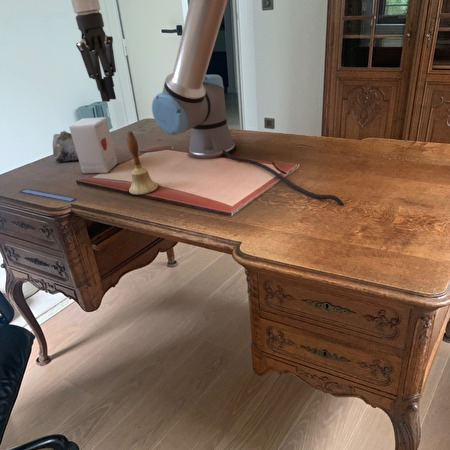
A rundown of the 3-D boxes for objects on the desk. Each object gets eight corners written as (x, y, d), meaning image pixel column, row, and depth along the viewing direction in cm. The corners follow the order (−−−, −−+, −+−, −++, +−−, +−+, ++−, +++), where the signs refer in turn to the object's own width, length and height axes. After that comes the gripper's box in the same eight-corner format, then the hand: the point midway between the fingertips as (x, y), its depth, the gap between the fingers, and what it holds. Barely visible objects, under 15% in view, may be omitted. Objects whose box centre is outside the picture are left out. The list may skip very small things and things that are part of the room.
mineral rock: (98, 158, 154) (90, 128, 148) (71, 168, 148) (62, 137, 142) (78, 153, 161) (70, 124, 156) (52, 162, 155) (42, 133, 150)
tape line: (74, 199, 125) (74, 198, 125) (70, 201, 124) (70, 200, 124) (25, 190, 135) (25, 189, 135) (21, 192, 134) (21, 191, 134)
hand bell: (130, 197, 121) (116, 138, 112) (127, 186, 128) (113, 130, 119) (160, 191, 123) (148, 132, 113) (155, 181, 129) (144, 125, 120)
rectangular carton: (107, 173, 140) (94, 124, 131) (82, 174, 142) (67, 126, 133) (118, 163, 147) (106, 116, 138) (94, 164, 149) (81, 118, 140)
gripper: (97, 11, 133) (116, 94, 147) (59, 17, 124) (83, 106, 137) (115, 9, 130) (133, 94, 144) (77, 15, 120) (100, 106, 134)
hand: (109, 100), depth 141 cm, fingers open, 2 cm apart
